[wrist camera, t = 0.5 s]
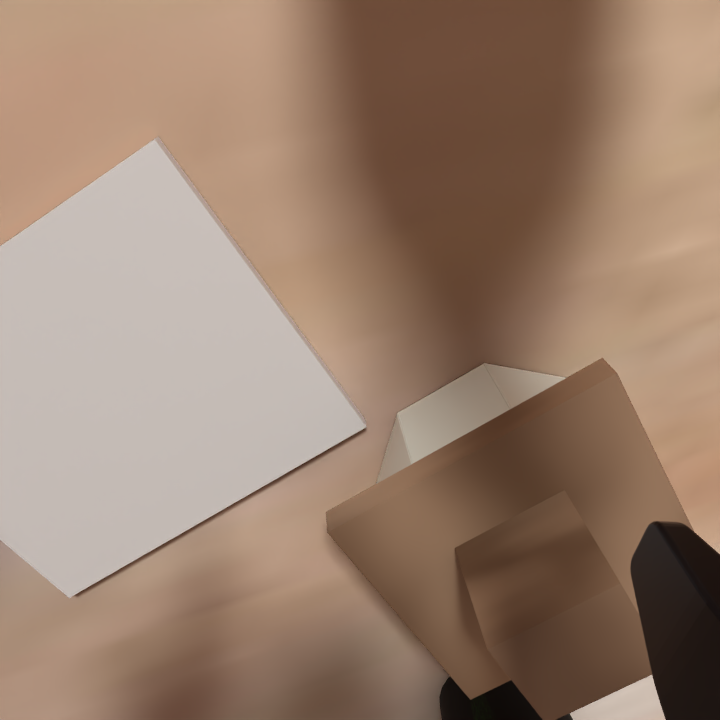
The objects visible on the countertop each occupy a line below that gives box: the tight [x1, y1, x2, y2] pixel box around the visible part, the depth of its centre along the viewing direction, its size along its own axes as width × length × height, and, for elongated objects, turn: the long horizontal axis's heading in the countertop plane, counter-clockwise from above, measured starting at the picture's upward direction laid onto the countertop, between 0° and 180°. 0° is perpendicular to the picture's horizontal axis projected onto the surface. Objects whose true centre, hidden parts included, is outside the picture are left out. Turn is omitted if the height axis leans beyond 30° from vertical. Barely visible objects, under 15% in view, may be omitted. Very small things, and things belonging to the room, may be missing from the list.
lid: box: [326, 358, 693, 720], centre depth 21 cm, size 10×10×5 cm
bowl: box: [376, 363, 565, 484], centre depth 25 cm, size 9×9×4 cm
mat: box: [0, 137, 366, 598], centre depth 24 cm, size 14×12×1 cm
